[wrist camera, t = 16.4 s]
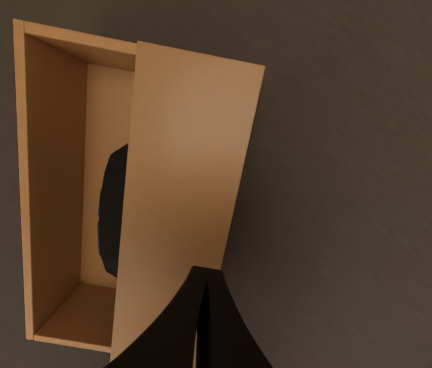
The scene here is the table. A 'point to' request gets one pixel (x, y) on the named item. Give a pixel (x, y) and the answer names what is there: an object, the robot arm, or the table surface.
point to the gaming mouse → (112, 209)
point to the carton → (68, 175)
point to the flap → (179, 176)
